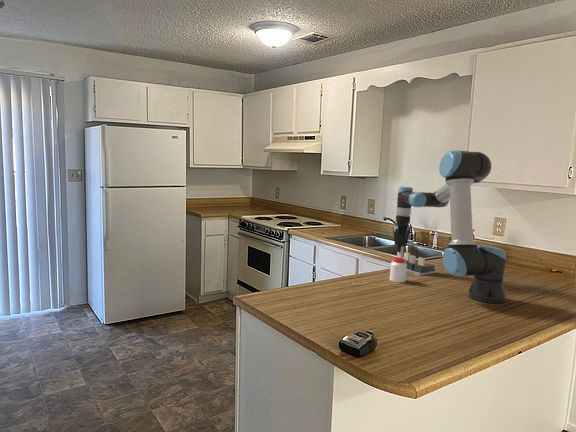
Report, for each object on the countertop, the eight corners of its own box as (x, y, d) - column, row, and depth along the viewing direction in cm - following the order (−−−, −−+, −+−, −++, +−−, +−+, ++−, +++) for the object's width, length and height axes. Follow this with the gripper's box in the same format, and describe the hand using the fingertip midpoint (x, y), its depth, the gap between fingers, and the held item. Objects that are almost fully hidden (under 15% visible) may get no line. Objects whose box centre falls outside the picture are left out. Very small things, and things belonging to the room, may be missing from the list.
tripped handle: (409, 260, 243) (410, 253, 243) (407, 260, 242) (408, 253, 242) (405, 259, 246) (406, 252, 245) (403, 259, 244) (404, 252, 244)
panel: (437, 272, 237) (438, 265, 236) (418, 275, 228) (419, 267, 227) (410, 265, 251) (411, 258, 251) (392, 268, 242) (392, 260, 242)
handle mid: (415, 263, 237) (415, 256, 236) (413, 263, 235) (413, 256, 235) (410, 262, 239) (411, 254, 238) (408, 262, 238) (409, 255, 237)
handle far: (424, 265, 232) (425, 258, 231) (422, 266, 231) (422, 258, 230) (419, 264, 234) (420, 257, 234) (417, 264, 233) (418, 257, 233)
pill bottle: (404, 279, 219) (405, 257, 218) (406, 283, 212) (408, 260, 210) (388, 277, 220) (390, 256, 219) (390, 281, 212) (392, 259, 211)
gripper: (405, 214, 244) (402, 255, 247) (389, 214, 237) (386, 257, 239) (416, 215, 238) (412, 258, 241) (400, 216, 230) (397, 260, 233)
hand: (399, 257), depth 240 cm, fingers closed
